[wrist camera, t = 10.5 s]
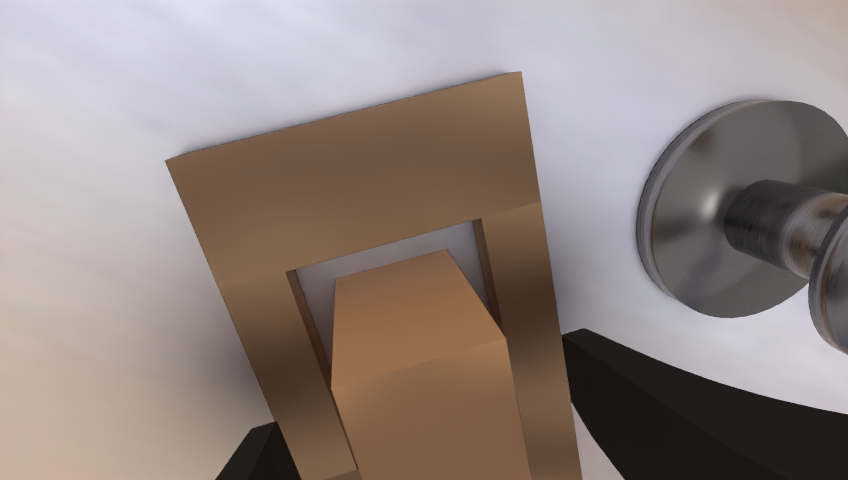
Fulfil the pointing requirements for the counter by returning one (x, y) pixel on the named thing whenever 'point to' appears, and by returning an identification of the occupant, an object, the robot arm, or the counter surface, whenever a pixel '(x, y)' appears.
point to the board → (374, 226)
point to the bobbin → (752, 214)
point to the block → (424, 376)
